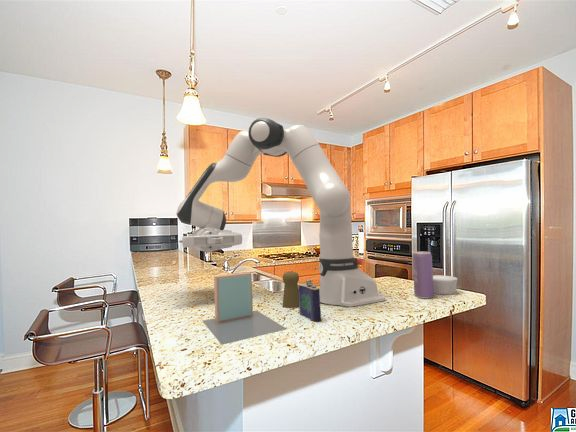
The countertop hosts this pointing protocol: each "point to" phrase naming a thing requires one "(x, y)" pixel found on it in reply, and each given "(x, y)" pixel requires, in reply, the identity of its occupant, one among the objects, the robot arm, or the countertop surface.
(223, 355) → the countertop surface
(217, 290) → the tile
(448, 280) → the ramekin
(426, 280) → the beverage can
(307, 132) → the robot arm
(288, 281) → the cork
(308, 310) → the flask
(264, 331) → the slate board
